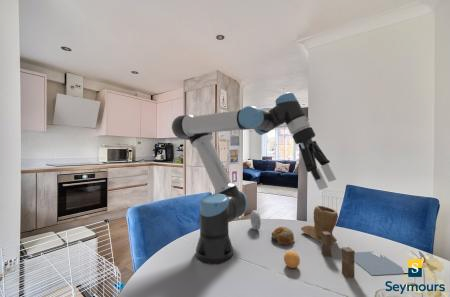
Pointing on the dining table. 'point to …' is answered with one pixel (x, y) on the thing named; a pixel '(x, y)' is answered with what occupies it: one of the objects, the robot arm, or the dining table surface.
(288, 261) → the ball
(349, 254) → the gate post right
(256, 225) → the donut
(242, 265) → the dining table surface
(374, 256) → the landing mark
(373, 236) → the dining table surface
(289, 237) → the bread roll
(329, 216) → the brown boot
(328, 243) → the gate post left
